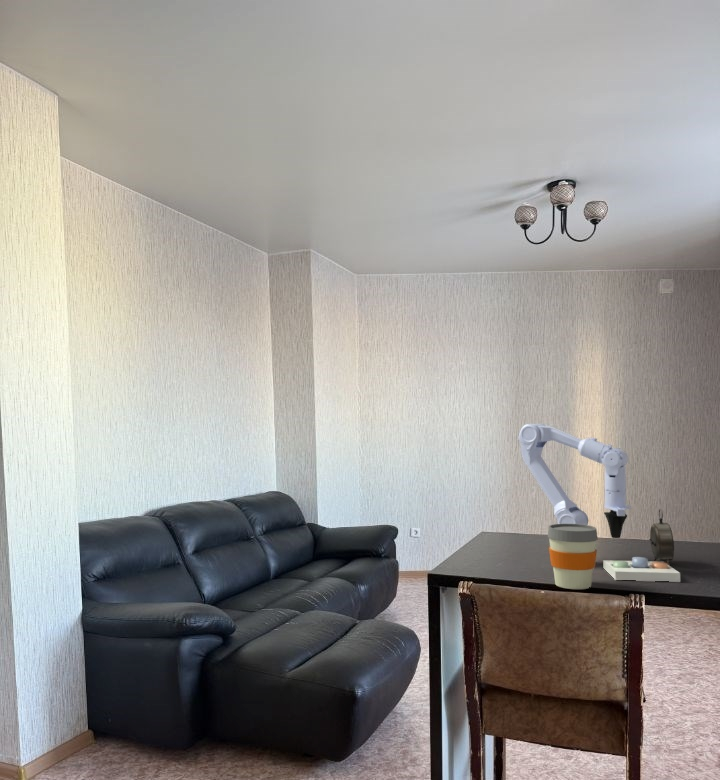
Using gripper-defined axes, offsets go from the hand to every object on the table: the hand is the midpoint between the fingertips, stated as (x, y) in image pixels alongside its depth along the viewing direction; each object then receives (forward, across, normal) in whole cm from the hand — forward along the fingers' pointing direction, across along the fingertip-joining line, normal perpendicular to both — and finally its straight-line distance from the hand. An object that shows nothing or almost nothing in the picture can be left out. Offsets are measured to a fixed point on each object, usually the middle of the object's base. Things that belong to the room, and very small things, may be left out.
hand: (615, 537), depth 197 cm
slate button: (+7, -7, -5) cm, 11 cm away
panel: (+9, -7, -5) cm, 12 cm away
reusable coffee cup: (+9, -20, +15) cm, 27 cm away
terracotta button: (+9, -7, -10) cm, 15 cm away
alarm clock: (+9, +10, -15) cm, 20 cm away
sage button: (+9, -7, 0) cm, 11 cm away
